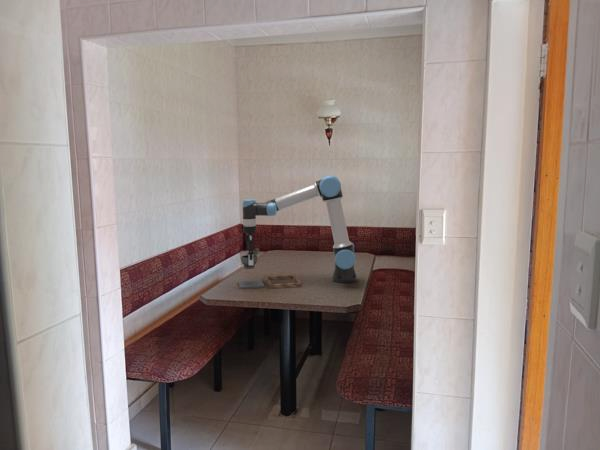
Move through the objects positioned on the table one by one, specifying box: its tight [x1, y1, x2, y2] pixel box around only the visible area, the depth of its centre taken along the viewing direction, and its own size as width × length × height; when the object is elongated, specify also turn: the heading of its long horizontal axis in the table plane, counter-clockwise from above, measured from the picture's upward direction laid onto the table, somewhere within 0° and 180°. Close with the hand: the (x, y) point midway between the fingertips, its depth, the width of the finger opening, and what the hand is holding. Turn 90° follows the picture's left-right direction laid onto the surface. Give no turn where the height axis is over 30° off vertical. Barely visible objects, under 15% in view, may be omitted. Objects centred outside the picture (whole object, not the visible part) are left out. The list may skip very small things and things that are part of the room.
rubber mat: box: [238, 278, 265, 290], centre depth 273 cm, size 14×16×1 cm
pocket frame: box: [264, 274, 303, 290], centre depth 277 cm, size 19×22×2 cm
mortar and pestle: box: [240, 247, 260, 270], centre depth 271 cm, size 11×9×12 cm
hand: (250, 263), depth 272 cm, fingers closed on mortar and pestle, 10 cm apart
